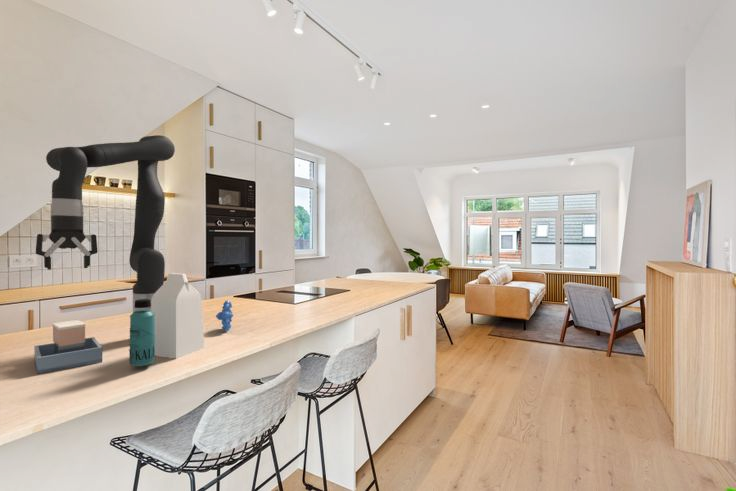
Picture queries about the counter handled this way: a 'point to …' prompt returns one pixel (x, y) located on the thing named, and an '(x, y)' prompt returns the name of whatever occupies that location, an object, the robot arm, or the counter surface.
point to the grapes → (225, 315)
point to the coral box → (68, 332)
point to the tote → (66, 356)
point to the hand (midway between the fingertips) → (67, 268)
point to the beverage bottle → (142, 334)
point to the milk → (177, 318)
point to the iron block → (68, 348)
